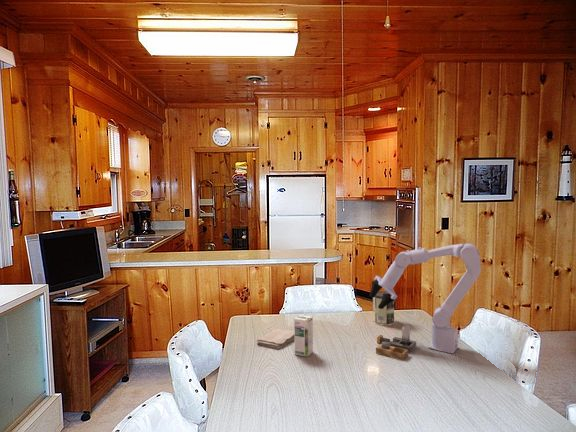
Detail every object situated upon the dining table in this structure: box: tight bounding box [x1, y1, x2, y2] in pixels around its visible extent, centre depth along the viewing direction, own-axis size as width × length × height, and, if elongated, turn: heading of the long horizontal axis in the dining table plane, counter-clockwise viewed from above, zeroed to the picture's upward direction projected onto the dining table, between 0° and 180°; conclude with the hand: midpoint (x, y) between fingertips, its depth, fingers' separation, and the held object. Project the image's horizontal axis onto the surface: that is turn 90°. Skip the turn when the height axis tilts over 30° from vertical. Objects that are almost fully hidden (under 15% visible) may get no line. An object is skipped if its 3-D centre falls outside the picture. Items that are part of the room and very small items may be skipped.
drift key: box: [376, 334, 391, 345], centre depth 161 cm, size 5×3×3 cm
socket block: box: [389, 336, 417, 354], centre depth 156 cm, size 9×8×2 cm
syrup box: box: [293, 314, 314, 358], centre depth 151 cm, size 6×6×14 cm
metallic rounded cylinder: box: [401, 324, 411, 346], centre depth 155 cm, size 3×3×9 cm
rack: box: [375, 342, 409, 361], centre depth 149 cm, size 11×5×4 cm, turn 52°
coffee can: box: [372, 290, 395, 327], centre depth 187 cm, size 10×10×14 cm
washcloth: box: [256, 328, 295, 350], centre depth 166 cm, size 12×18×3 cm, turn 151°
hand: (375, 302), depth 166 cm, fingers open, 7 cm apart
